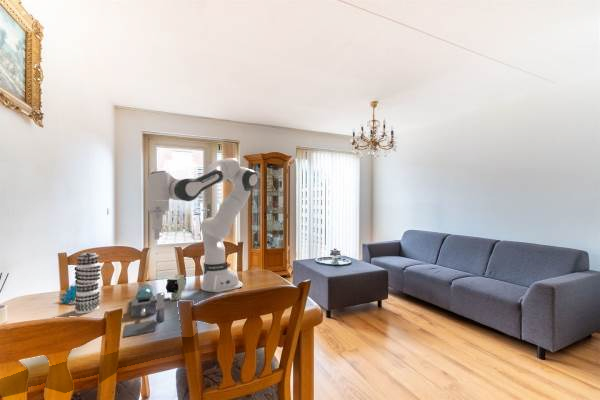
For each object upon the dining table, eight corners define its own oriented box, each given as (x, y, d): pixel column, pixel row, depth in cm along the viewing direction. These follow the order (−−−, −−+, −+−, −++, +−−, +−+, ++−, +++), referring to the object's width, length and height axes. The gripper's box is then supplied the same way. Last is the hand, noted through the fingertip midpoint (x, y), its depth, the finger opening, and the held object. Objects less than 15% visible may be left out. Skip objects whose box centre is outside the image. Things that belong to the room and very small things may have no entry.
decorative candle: (84, 315, 115) (85, 255, 115) (68, 312, 118) (69, 254, 118) (105, 306, 124) (105, 251, 124) (89, 304, 126) (90, 250, 126)
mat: (154, 320, 110) (154, 319, 110) (154, 331, 102) (154, 330, 102) (125, 326, 106) (125, 325, 106) (122, 337, 97) (122, 336, 97)
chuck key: (169, 317, 114) (169, 291, 114) (169, 320, 111) (170, 293, 111) (150, 321, 110) (150, 293, 110) (150, 324, 108) (150, 296, 108)
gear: (55, 298, 129) (74, 280, 135) (64, 304, 133) (82, 286, 139) (68, 305, 124) (87, 286, 130) (78, 311, 128) (96, 292, 135)
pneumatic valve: (165, 303, 129) (165, 278, 129) (177, 294, 140) (177, 271, 140) (176, 303, 129) (177, 278, 129) (187, 295, 140) (188, 271, 140)
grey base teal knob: (154, 296, 137) (155, 282, 137) (155, 319, 112) (156, 302, 112) (134, 299, 133) (134, 285, 133) (130, 323, 108) (130, 306, 108)
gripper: (166, 207, 114) (165, 240, 113) (165, 206, 132) (164, 235, 131) (149, 207, 111) (147, 241, 110) (150, 206, 129) (149, 235, 129)
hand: (156, 238), depth 121 cm, fingers open, 8 cm apart
